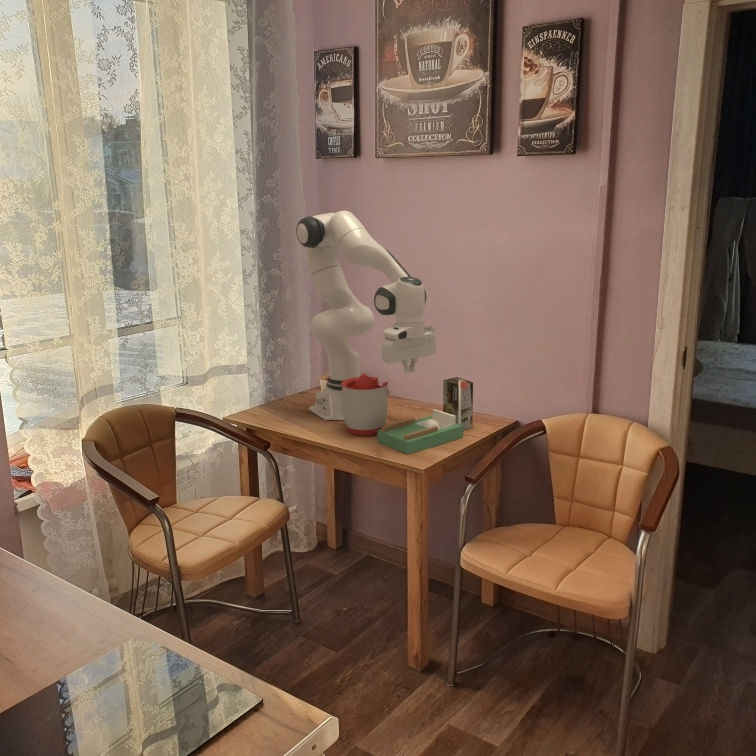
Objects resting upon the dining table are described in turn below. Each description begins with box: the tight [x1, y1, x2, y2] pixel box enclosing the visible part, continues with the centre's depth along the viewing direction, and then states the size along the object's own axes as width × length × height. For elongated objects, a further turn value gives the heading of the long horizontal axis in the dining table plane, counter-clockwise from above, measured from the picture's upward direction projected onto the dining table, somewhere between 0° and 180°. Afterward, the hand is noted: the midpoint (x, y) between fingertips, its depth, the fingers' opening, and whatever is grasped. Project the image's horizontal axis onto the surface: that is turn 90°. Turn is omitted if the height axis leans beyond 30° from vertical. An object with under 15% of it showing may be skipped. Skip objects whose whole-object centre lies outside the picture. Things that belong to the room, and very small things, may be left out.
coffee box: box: [442, 377, 474, 431], centre depth 265 cm, size 9×6×16 cm
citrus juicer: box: [341, 373, 391, 437], centre depth 261 cm, size 16×17×20 cm
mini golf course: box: [377, 381, 467, 455], centre depth 251 cm, size 17×24×19 cm
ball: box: [425, 420, 440, 430], centre depth 257 cm, size 5×5×5 cm
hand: (409, 371), depth 248 cm, fingers closed
